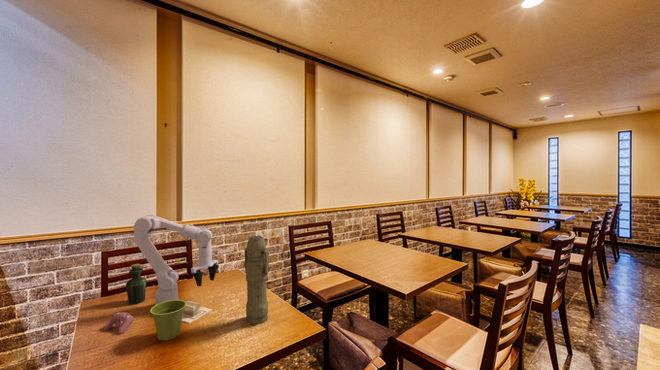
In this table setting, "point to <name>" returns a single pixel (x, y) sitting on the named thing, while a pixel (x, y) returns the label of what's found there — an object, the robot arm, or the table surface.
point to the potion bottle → (136, 286)
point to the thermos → (256, 280)
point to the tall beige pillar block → (192, 308)
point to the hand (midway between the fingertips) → (205, 282)
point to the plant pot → (168, 318)
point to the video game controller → (120, 321)
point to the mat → (190, 319)
